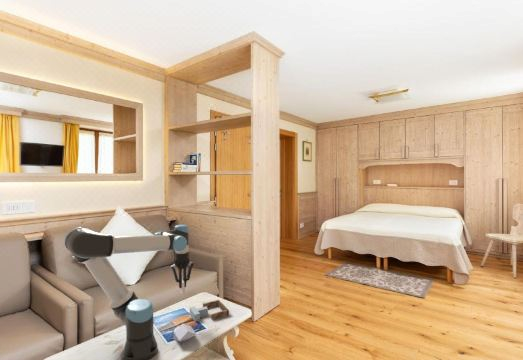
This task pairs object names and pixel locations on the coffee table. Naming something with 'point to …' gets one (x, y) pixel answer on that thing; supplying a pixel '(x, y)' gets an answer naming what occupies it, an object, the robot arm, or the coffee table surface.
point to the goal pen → (217, 303)
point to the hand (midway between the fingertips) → (182, 293)
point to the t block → (198, 313)
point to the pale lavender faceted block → (183, 333)
